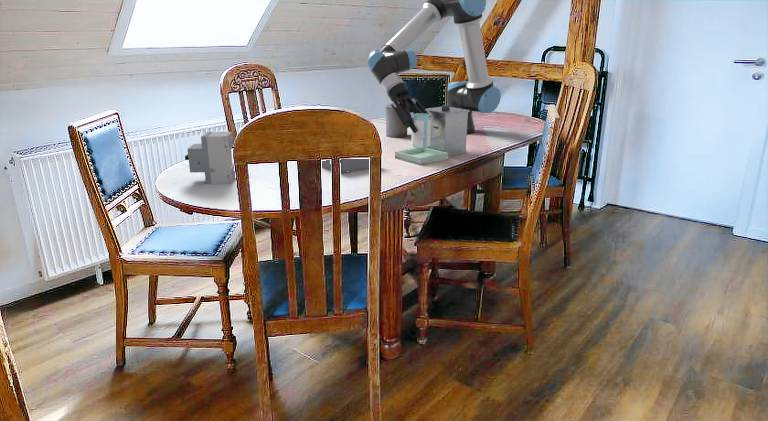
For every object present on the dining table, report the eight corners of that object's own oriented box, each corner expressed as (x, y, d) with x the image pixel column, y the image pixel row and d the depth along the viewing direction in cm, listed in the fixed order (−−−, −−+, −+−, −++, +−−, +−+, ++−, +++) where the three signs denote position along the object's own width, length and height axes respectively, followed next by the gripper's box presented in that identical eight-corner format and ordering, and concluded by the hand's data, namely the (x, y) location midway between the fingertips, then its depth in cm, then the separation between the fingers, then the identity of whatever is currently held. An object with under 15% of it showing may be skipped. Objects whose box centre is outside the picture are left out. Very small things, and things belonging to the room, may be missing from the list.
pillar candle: (408, 134, 249) (408, 100, 244) (405, 138, 240) (405, 103, 235) (387, 133, 251) (387, 100, 246) (384, 137, 241) (383, 103, 237)
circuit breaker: (191, 177, 176) (186, 132, 172) (236, 177, 178) (232, 131, 173) (185, 184, 169) (180, 136, 165) (232, 183, 171) (228, 136, 166)
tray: (422, 152, 212) (422, 146, 211) (447, 159, 202) (448, 152, 201) (394, 158, 204) (395, 151, 203) (420, 165, 193) (420, 158, 193)
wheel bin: (354, 159, 202) (354, 143, 200) (377, 166, 191) (377, 149, 190) (318, 165, 192) (317, 149, 190) (340, 173, 182) (340, 156, 180)
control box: (443, 147, 221) (445, 102, 215) (467, 153, 212) (469, 105, 206) (420, 152, 213) (421, 104, 207) (443, 157, 204) (445, 108, 198)
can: (408, 145, 203) (409, 113, 199) (425, 144, 205) (427, 112, 201) (415, 149, 197) (416, 116, 193) (433, 148, 199) (434, 115, 195)
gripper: (406, 92, 212) (438, 139, 207) (372, 97, 198) (406, 147, 193) (417, 79, 207) (450, 127, 202) (383, 83, 193) (418, 134, 188)
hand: (428, 137), depth 198 cm, fingers closed on can, 7 cm apart
